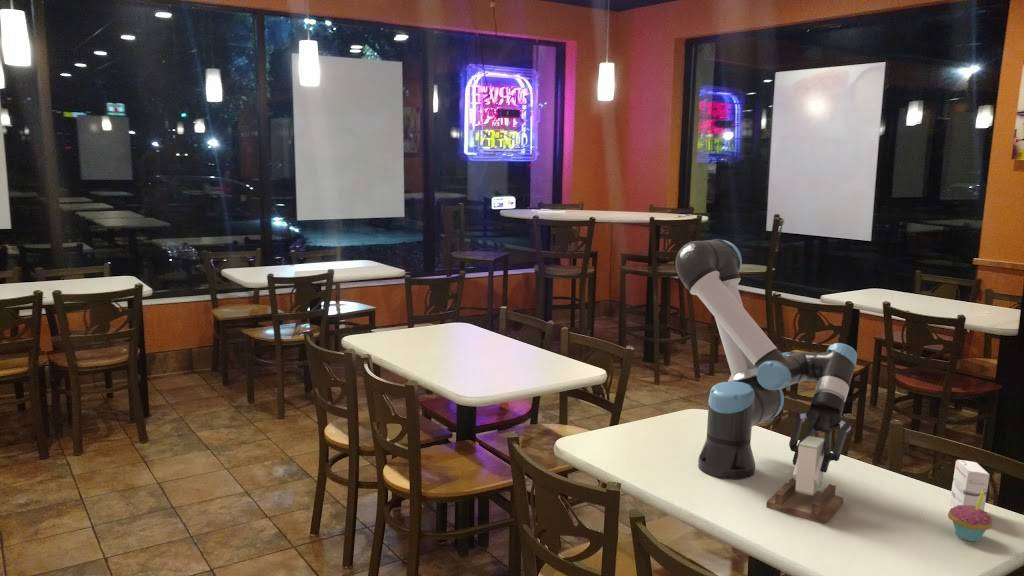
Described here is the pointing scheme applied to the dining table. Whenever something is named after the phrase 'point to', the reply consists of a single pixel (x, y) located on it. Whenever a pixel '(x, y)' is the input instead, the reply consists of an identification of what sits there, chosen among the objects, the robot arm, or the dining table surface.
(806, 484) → the sage box
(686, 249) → the robot arm
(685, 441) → the dining table surface
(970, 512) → the cupcake
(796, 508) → the walnut rack
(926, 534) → the dining table surface
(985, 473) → the white rectangular block
